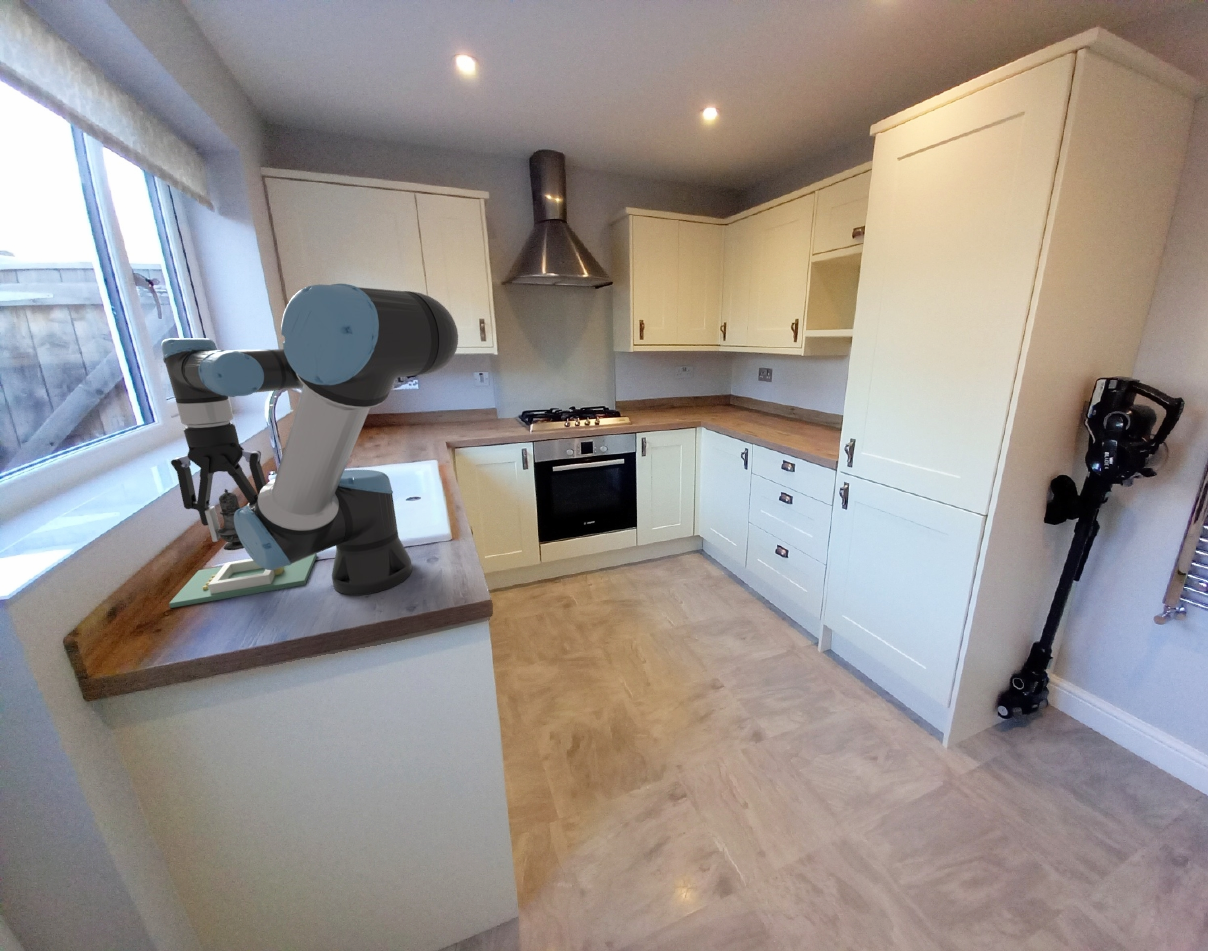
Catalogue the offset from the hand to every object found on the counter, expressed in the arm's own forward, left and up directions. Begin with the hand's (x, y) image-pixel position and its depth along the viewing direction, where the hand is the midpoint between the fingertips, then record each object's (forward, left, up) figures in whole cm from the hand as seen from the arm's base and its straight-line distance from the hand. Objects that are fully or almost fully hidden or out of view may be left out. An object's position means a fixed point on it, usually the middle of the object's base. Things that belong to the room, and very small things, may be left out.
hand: (237, 536), depth 94 cm
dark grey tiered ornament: (0, 0, -2) cm, 2 cm away
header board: (0, -1, -10) cm, 10 cm away
